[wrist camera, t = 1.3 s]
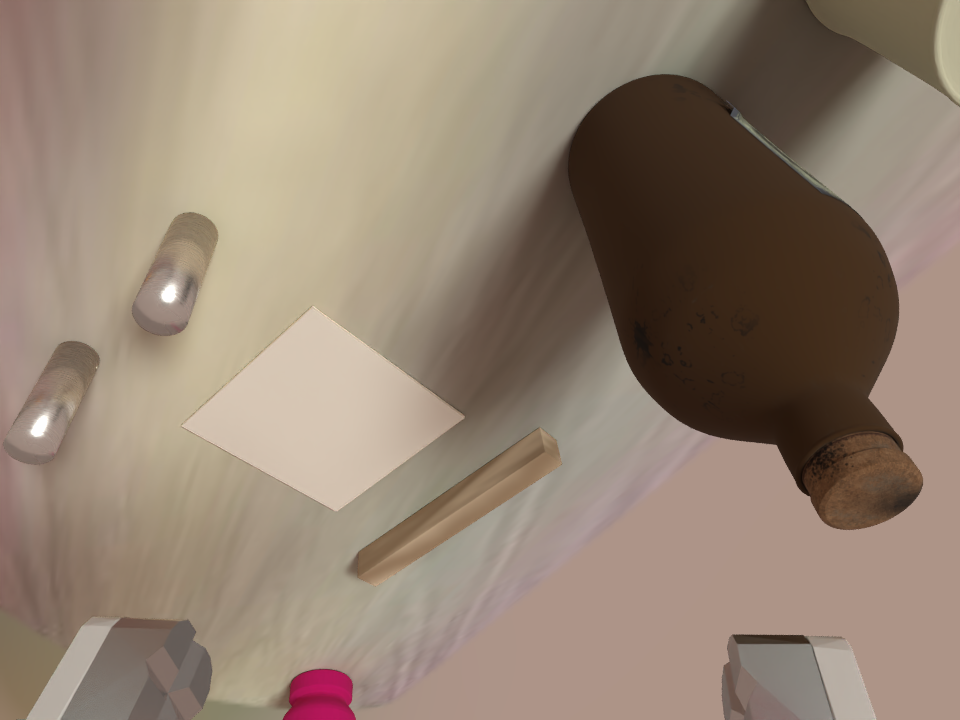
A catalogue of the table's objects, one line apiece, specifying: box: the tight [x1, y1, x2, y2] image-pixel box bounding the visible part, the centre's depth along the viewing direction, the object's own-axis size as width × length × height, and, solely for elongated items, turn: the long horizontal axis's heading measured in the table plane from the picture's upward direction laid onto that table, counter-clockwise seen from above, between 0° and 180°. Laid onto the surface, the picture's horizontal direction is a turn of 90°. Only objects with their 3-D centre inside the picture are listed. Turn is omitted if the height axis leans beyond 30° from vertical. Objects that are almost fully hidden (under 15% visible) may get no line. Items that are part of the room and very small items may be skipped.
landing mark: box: [181, 306, 465, 512], centre depth 52 cm, size 14×14×1 cm
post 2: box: [132, 212, 218, 336], centre depth 39 cm, size 3×3×8 cm
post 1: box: [3, 341, 100, 464], centre depth 43 cm, size 3×3×8 cm
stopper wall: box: [358, 427, 562, 587], centre depth 58 cm, size 2×20×2 cm, turn 132°
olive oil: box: [568, 74, 923, 530], centre depth 32 cm, size 11×11×25 cm
